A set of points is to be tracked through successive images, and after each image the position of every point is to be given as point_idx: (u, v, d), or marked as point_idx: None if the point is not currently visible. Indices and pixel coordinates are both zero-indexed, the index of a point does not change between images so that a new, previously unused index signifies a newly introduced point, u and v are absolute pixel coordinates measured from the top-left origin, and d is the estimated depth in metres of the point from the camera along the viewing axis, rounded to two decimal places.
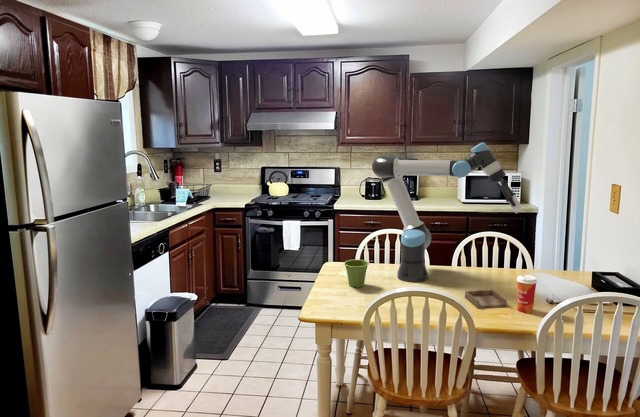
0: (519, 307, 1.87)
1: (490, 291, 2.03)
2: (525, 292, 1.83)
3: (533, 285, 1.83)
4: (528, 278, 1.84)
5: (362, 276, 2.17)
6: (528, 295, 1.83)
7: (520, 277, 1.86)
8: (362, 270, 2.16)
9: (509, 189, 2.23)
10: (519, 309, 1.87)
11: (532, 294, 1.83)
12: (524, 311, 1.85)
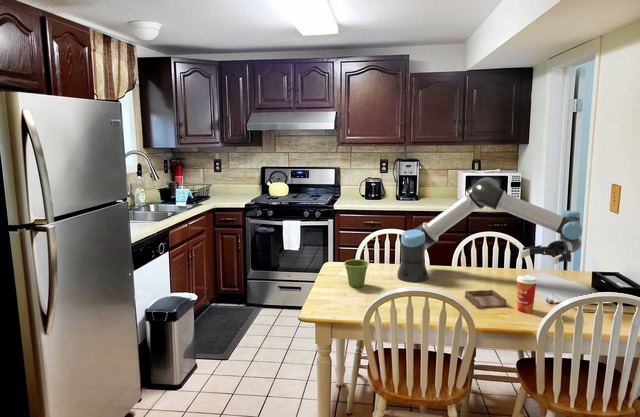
0: (519, 307, 1.87)
1: (490, 291, 2.03)
2: (525, 292, 1.83)
3: (533, 285, 1.83)
4: (528, 278, 1.84)
5: (362, 276, 2.17)
6: (528, 295, 1.83)
7: (520, 277, 1.86)
8: (362, 270, 2.16)
9: (538, 253, 2.01)
10: (519, 309, 1.87)
11: (532, 294, 1.83)
12: (524, 311, 1.85)
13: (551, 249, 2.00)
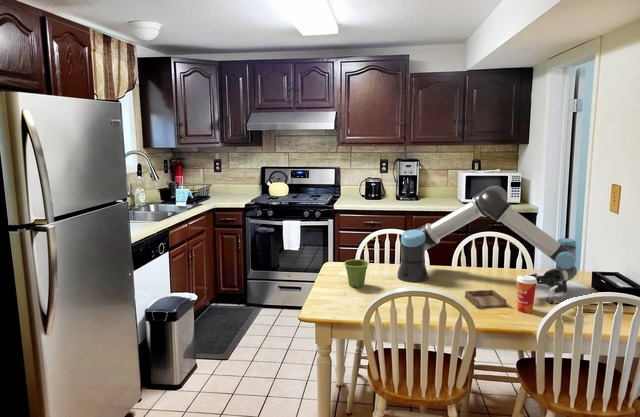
0: (519, 307, 1.87)
1: (490, 291, 2.03)
2: (525, 292, 1.83)
3: (533, 285, 1.83)
4: (528, 278, 1.84)
5: (362, 276, 2.17)
6: (528, 295, 1.83)
7: (520, 277, 1.86)
8: (362, 270, 2.16)
9: None
10: (519, 309, 1.87)
11: (532, 294, 1.83)
12: (524, 311, 1.85)
13: (547, 278, 1.99)
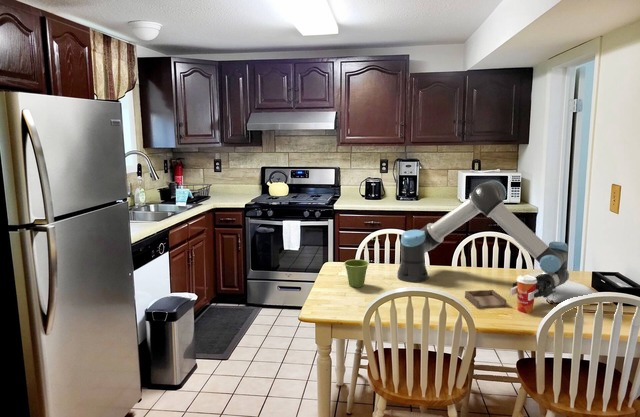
0: (519, 307, 1.87)
1: (490, 291, 2.03)
2: (526, 292, 1.83)
3: (533, 285, 1.83)
4: (529, 278, 1.84)
5: (362, 276, 2.17)
6: None
7: (520, 277, 1.86)
8: (362, 270, 2.16)
9: None
10: (519, 309, 1.87)
11: None
12: (524, 311, 1.85)
13: (537, 283, 1.93)
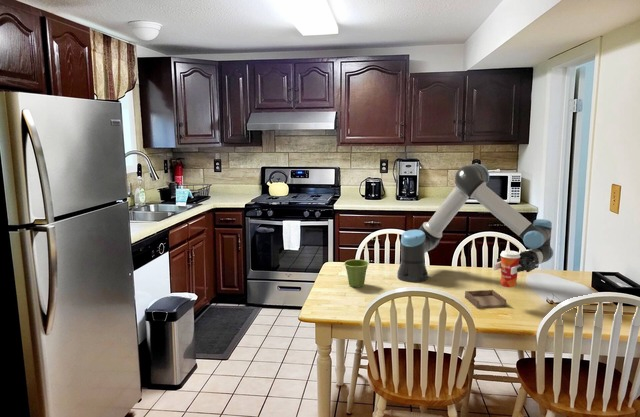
0: (502, 281, 1.89)
1: (490, 291, 2.03)
2: (509, 266, 1.86)
3: (516, 260, 1.85)
4: (512, 253, 1.87)
5: (362, 276, 2.17)
6: None
7: (504, 252, 1.88)
8: (362, 270, 2.16)
9: None
10: (502, 284, 1.89)
11: None
12: (507, 285, 1.88)
13: (521, 259, 1.95)
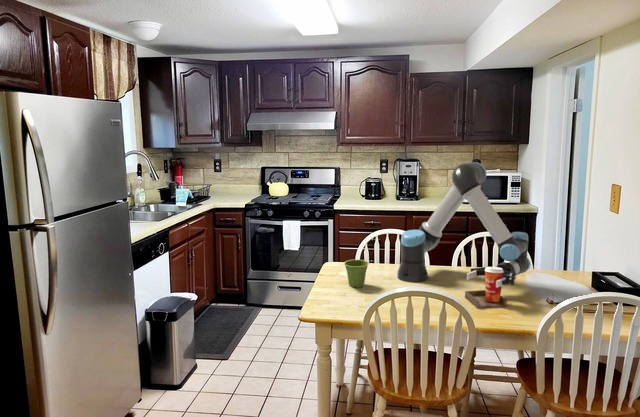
0: (487, 296, 1.94)
1: None
2: (492, 281, 1.92)
3: (500, 274, 1.92)
4: (495, 268, 1.93)
5: (362, 276, 2.17)
6: (495, 285, 1.92)
7: (488, 267, 1.95)
8: (362, 270, 2.16)
9: None
10: (487, 299, 1.94)
11: None
12: (491, 300, 1.93)
13: None
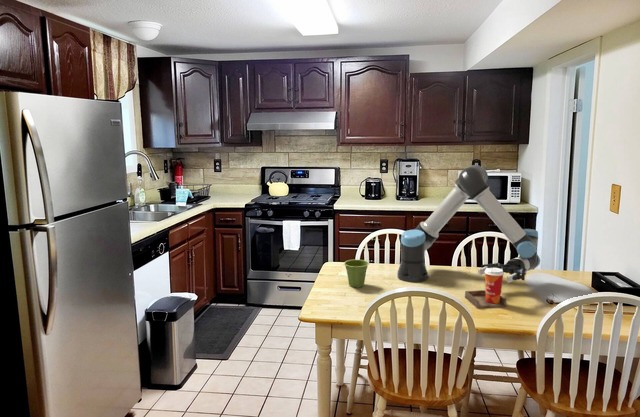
0: (487, 298, 1.94)
1: None
2: (493, 283, 1.91)
3: (500, 277, 1.90)
4: (496, 270, 1.92)
5: (362, 276, 2.17)
6: (495, 287, 1.91)
7: (488, 269, 1.93)
8: (362, 270, 2.16)
9: None
10: (487, 300, 1.94)
11: (499, 285, 1.91)
12: (491, 302, 1.93)
13: (508, 267, 2.07)
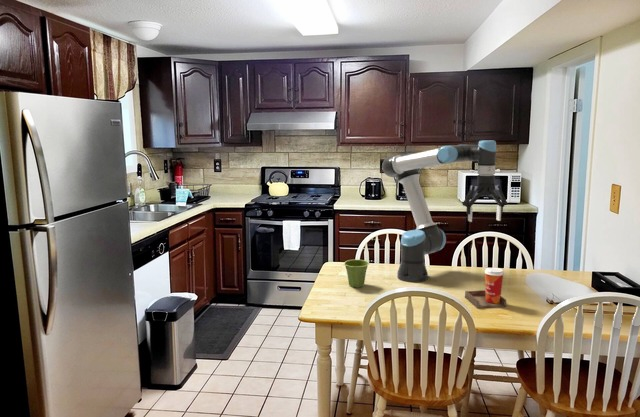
0: (487, 298, 1.94)
1: None
2: (493, 283, 1.91)
3: (500, 277, 1.90)
4: (496, 270, 1.92)
5: (362, 276, 2.17)
6: (495, 287, 1.91)
7: (488, 269, 1.93)
8: (362, 270, 2.16)
9: (495, 198, 2.09)
10: (487, 300, 1.94)
11: (499, 285, 1.91)
12: (491, 302, 1.93)
13: None
